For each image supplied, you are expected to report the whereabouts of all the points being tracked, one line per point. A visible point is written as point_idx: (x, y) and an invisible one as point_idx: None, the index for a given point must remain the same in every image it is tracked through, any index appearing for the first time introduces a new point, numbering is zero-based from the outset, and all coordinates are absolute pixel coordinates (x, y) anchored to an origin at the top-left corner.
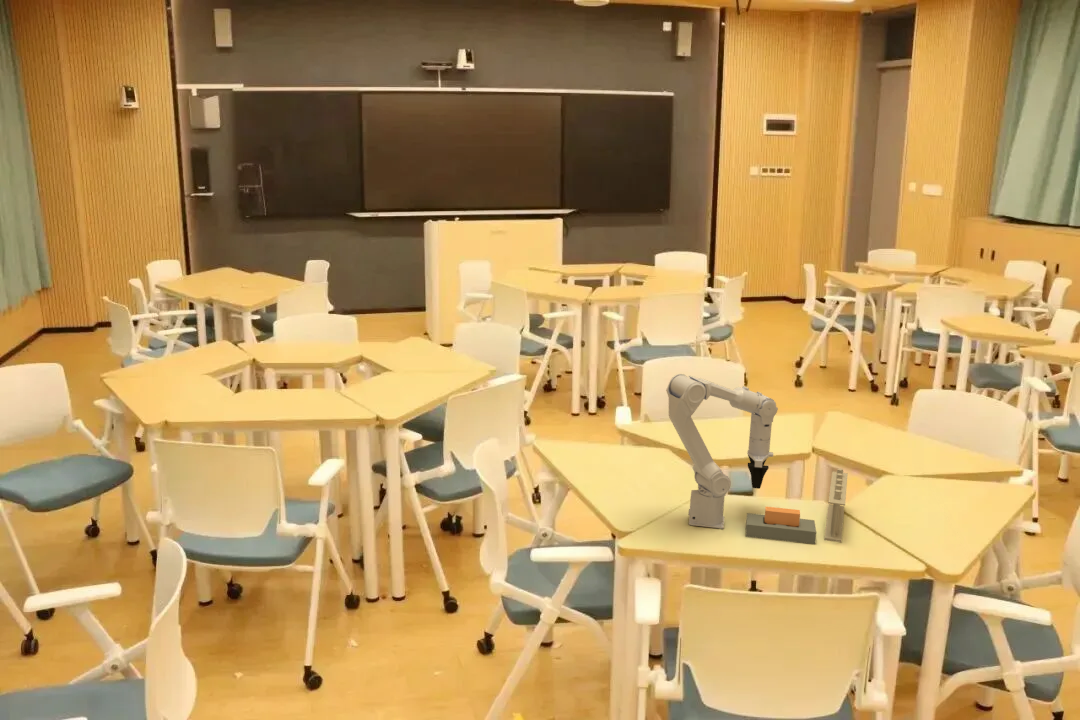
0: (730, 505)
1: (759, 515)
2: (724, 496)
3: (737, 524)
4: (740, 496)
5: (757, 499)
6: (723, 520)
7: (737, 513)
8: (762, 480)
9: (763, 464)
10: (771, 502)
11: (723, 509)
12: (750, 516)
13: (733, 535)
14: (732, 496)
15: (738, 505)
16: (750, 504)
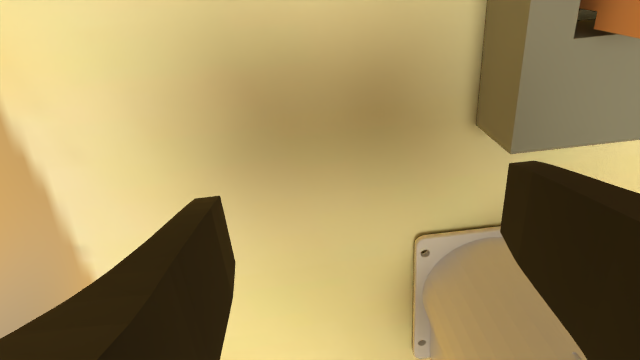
0: (229, 231)
1: (543, 69)
2: (575, 349)
3: (479, 166)
4: (59, 203)
5: (40, 104)
6: (475, 235)
7: (327, 185)
8: (635, 192)
9: (149, 309)
10: (30, 3)
11: (522, 282)
12: (567, 126)
13: (622, 166)
14: (89, 240)
15: (207, 195)
16: (154, 136)
